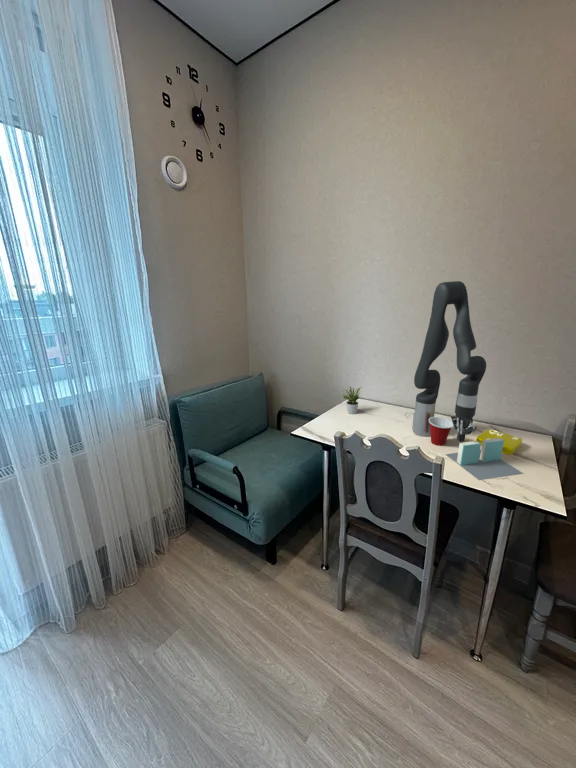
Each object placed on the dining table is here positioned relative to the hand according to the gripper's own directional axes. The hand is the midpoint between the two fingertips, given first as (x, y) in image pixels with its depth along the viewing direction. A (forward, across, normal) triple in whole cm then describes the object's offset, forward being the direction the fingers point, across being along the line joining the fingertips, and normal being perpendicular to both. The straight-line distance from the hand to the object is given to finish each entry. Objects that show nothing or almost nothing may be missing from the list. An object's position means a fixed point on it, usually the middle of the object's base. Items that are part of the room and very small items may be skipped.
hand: (460, 441), depth 137 cm
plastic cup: (+8, -13, -1) cm, 15 cm away
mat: (+8, +7, +6) cm, 12 cm away
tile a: (+7, +5, 0) cm, 9 cm away
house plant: (+8, -61, -25) cm, 66 cm away
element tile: (+9, -5, +25) cm, 27 cm away
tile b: (+7, +5, +11) cm, 14 cm away
